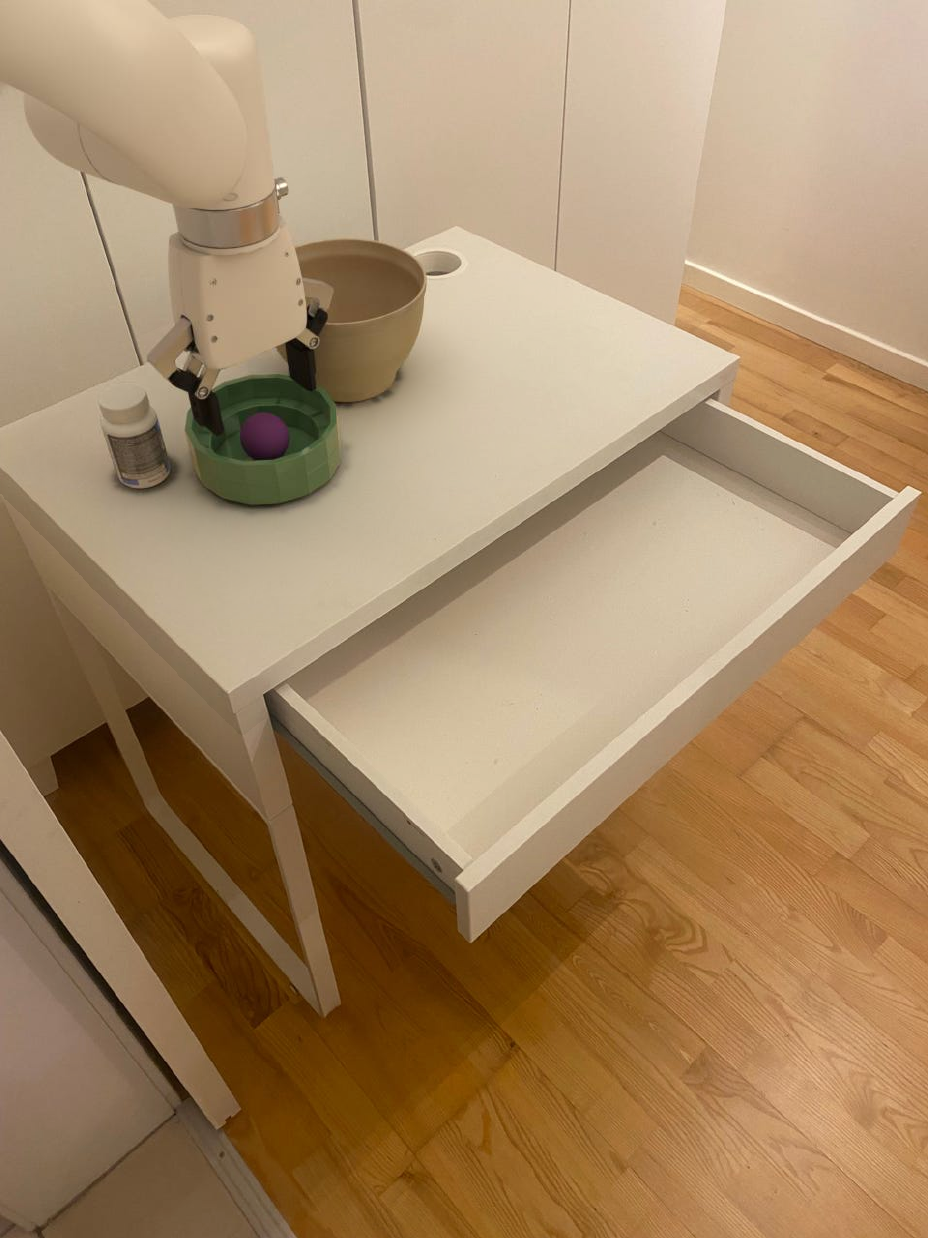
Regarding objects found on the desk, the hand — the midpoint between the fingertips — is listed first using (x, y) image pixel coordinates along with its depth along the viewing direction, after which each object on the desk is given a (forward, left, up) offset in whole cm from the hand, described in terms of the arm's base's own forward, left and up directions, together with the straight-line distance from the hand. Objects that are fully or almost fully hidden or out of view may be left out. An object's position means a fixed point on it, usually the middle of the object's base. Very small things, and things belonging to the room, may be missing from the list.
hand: (258, 405), depth 84 cm
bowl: (0, 0, -6) cm, 6 cm away
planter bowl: (+2, +15, -7) cm, 17 cm away
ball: (0, 0, -4) cm, 4 cm away
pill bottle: (-10, -5, -7) cm, 13 cm away
